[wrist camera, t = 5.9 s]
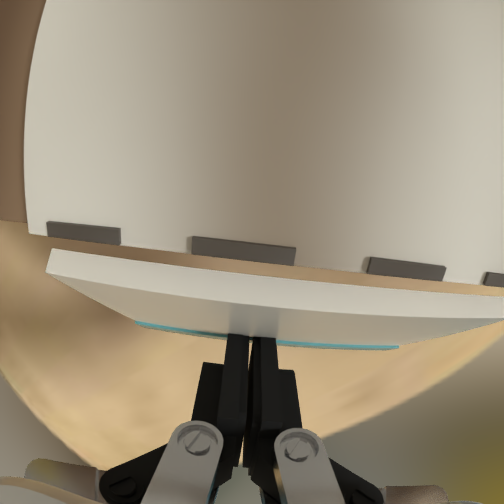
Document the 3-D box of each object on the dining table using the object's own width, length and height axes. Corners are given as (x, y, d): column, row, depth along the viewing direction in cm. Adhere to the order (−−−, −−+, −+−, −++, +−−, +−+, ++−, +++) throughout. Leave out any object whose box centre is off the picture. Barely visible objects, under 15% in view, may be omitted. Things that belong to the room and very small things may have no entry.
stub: (509, 297, 5) (511, 321, 5) (377, 338, 12) (376, 351, 12) (52, 247, 5) (44, 277, 5) (152, 316, 12) (150, 330, 12)
